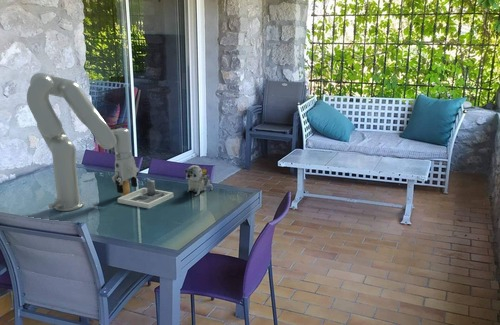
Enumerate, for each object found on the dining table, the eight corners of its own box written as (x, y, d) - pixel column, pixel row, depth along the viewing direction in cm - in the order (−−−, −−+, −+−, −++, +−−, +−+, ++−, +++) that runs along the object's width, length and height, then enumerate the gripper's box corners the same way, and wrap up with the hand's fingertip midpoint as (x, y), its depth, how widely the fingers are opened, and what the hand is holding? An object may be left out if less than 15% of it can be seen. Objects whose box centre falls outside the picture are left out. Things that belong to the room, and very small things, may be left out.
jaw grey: (152, 199, 227) (151, 182, 225) (144, 197, 229) (143, 181, 227) (158, 196, 231) (157, 180, 229) (150, 195, 233) (149, 179, 231)
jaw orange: (126, 199, 230) (125, 183, 228) (119, 197, 233) (118, 181, 231) (133, 196, 234) (132, 180, 232) (126, 195, 236) (124, 179, 234)
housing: (148, 210, 215) (148, 204, 214) (118, 204, 223) (117, 198, 222) (173, 198, 230) (173, 192, 229) (143, 193, 238) (143, 187, 238)
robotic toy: (177, 196, 233) (175, 166, 229) (197, 187, 248) (196, 158, 244) (199, 200, 227) (198, 169, 223) (219, 190, 242) (218, 161, 238)
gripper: (116, 160, 219) (120, 196, 224) (142, 151, 234) (145, 185, 238) (104, 158, 223) (108, 194, 227) (130, 149, 237) (133, 183, 242)
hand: (127, 189), depth 233 cm, fingers open, 9 cm apart
